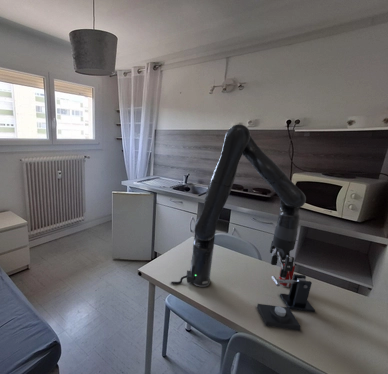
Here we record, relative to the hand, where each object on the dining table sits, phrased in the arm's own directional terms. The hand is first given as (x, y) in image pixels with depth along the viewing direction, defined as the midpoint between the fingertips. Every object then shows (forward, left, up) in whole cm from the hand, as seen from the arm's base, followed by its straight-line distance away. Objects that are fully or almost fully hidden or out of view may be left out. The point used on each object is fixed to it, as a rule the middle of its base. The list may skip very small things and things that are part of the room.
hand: (277, 270), depth 93 cm
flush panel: (-2, -10, -15) cm, 18 cm away
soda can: (+11, +13, -15) cm, 23 cm away
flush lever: (+5, 0, -6) cm, 8 cm away
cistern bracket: (+10, 0, -15) cm, 18 cm away
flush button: (-2, -11, -12) cm, 16 cm away
